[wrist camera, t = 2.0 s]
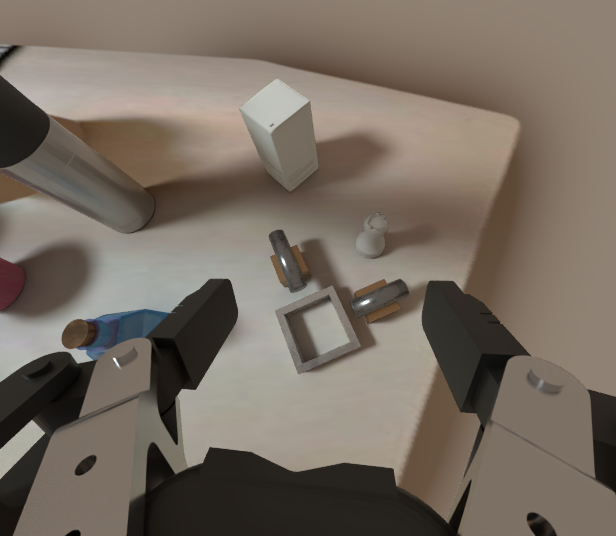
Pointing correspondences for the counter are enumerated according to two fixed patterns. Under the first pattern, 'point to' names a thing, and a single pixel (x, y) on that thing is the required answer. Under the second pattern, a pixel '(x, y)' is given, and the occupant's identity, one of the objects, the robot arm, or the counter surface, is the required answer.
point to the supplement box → (282, 133)
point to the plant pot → (10, 282)
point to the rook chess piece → (372, 236)
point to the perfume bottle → (109, 330)
